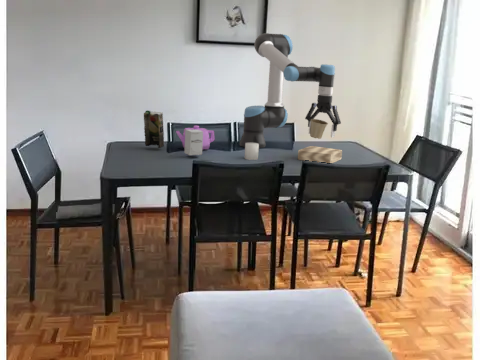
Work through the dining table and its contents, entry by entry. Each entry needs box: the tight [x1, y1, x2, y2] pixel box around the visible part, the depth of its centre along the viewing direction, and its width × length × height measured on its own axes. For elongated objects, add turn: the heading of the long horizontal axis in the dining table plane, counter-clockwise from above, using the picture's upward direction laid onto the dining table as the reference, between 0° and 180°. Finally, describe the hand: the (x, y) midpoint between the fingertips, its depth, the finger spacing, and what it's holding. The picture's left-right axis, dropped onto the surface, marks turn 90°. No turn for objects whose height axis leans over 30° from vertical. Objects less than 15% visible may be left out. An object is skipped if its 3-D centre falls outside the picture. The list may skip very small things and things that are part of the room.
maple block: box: [297, 145, 343, 164], centre depth 305 cm, size 18×18×5 cm
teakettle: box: [175, 125, 215, 150], centre depth 320 cm, size 17×17×12 cm
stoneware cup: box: [244, 142, 260, 161], centre depth 296 cm, size 7×7×8 cm
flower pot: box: [309, 118, 329, 140], centre depth 303 cm, size 9×9×9 cm
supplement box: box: [184, 130, 203, 156], centre depth 300 cm, size 7×7×13 cm
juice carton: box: [143, 110, 165, 149], centre depth 314 cm, size 20×10×6 cm
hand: (321, 135), depth 303 cm, fingers open, 13 cm apart
